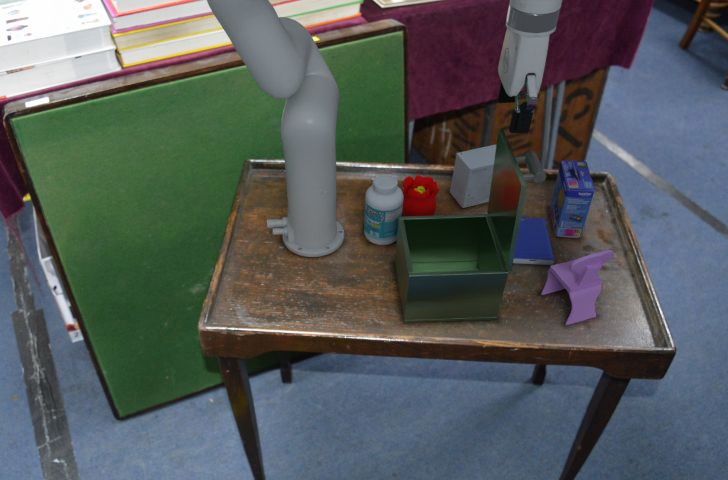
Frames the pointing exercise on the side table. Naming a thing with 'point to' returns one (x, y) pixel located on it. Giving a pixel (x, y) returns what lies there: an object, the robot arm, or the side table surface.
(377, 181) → the pill bottle
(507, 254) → the green box lid
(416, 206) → the flower
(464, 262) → the green open box
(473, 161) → the cosmetics box
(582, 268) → the purple stand
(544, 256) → the hard drive
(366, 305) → the side table surface
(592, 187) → the ink cartridge box
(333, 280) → the side table surface
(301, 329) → the side table surface
